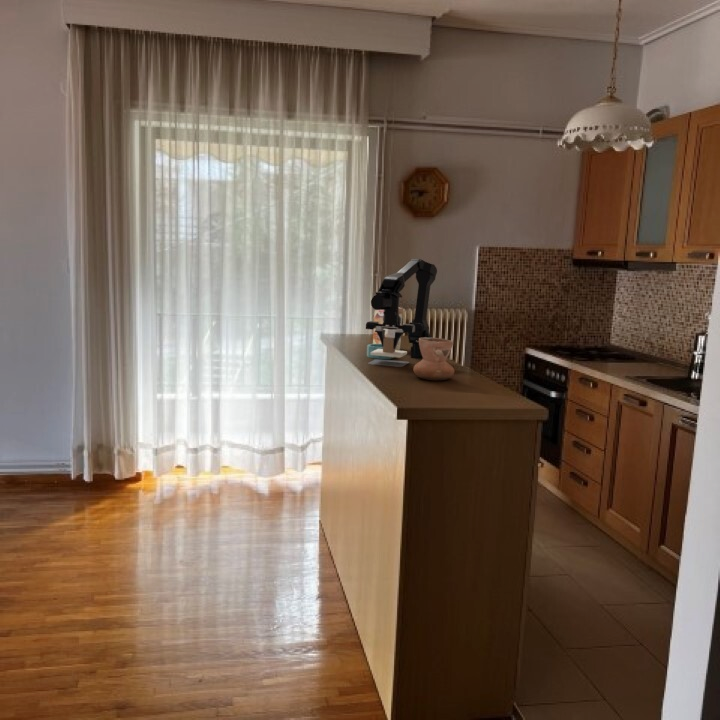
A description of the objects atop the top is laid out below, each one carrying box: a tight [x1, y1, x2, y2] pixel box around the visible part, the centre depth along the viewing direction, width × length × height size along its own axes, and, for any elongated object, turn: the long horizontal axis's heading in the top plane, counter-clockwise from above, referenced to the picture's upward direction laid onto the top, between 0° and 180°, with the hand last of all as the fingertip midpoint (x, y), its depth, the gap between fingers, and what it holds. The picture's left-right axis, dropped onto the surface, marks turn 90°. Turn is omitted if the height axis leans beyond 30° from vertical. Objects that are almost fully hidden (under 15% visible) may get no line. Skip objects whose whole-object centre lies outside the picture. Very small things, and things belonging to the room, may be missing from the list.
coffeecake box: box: [372, 306, 403, 351], centre depth 323 cm, size 15×7×20 cm, turn 25°
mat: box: [366, 358, 410, 368], centre depth 280 cm, size 14×14×1 cm
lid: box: [370, 337, 408, 359], centre depth 279 cm, size 12×12×6 cm
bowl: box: [366, 343, 394, 360], centre depth 295 cm, size 11×11×5 cm
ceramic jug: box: [413, 336, 455, 382], centre depth 251 cm, size 18×14×14 cm
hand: (389, 348), depth 279 cm, fingers closed on lid, 4 cm apart
